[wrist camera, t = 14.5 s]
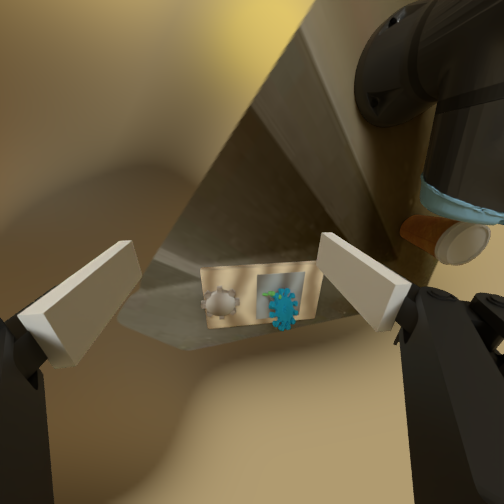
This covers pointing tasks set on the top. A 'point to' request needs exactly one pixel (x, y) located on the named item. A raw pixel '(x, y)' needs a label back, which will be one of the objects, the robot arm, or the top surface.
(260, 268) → the carrier board
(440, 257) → the disposable coffee cup
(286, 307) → the gear
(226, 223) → the top surface
